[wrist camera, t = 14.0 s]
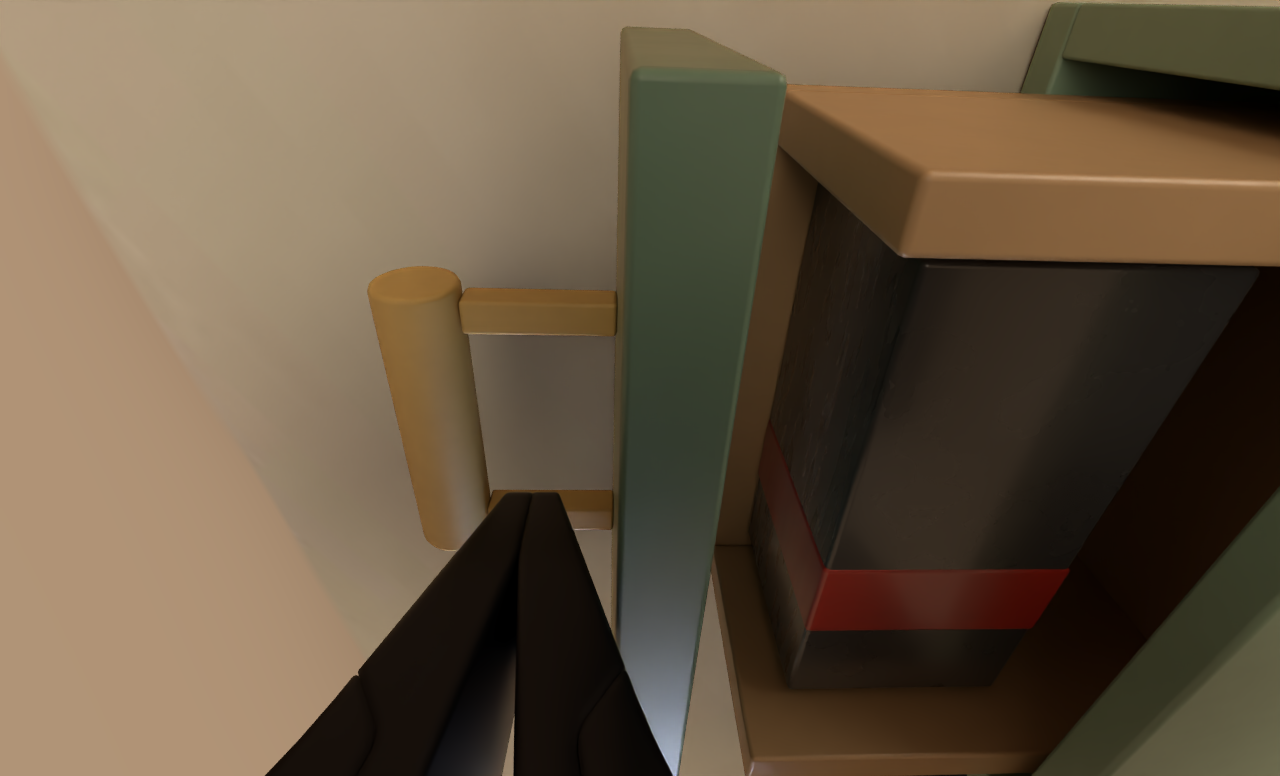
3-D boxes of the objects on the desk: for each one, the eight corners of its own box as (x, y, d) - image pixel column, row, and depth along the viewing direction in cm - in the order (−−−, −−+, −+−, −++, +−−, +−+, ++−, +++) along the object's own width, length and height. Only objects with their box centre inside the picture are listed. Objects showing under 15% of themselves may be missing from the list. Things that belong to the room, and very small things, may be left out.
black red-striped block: (1050, 179, 10) (1273, 269, 7) (907, 530, 15) (994, 690, 11) (816, 170, 10) (922, 261, 6) (745, 530, 14) (785, 692, 11)
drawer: (468, 551, 16) (398, 819, 11) (372, 15, 9) (63, 45, 4) (1047, 549, 17) (1239, 797, 12) (1349, 57, 10) (2132, 125, 5)
